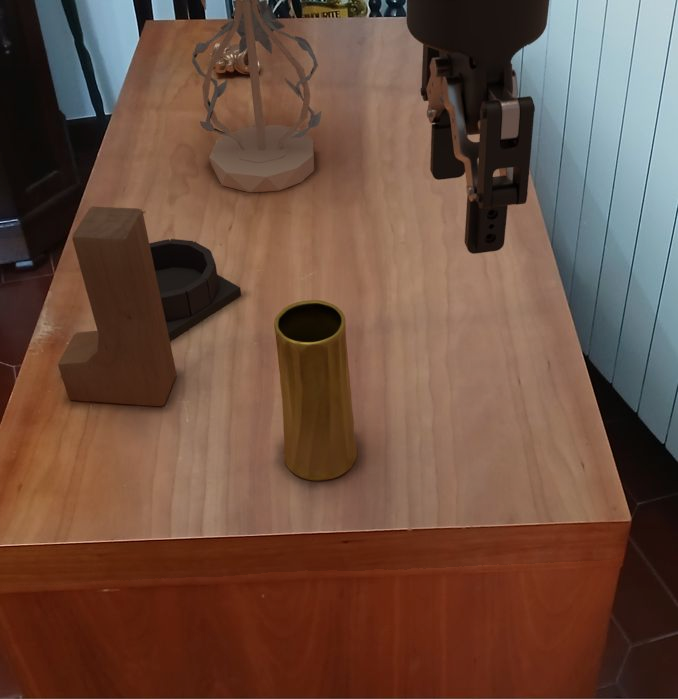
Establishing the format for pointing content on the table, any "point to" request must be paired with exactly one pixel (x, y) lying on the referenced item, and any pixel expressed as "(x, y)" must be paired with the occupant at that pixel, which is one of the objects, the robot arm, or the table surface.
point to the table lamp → (259, 111)
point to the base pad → (188, 283)
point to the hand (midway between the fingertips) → (464, 210)
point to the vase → (315, 390)
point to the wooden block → (119, 315)
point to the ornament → (232, 60)
